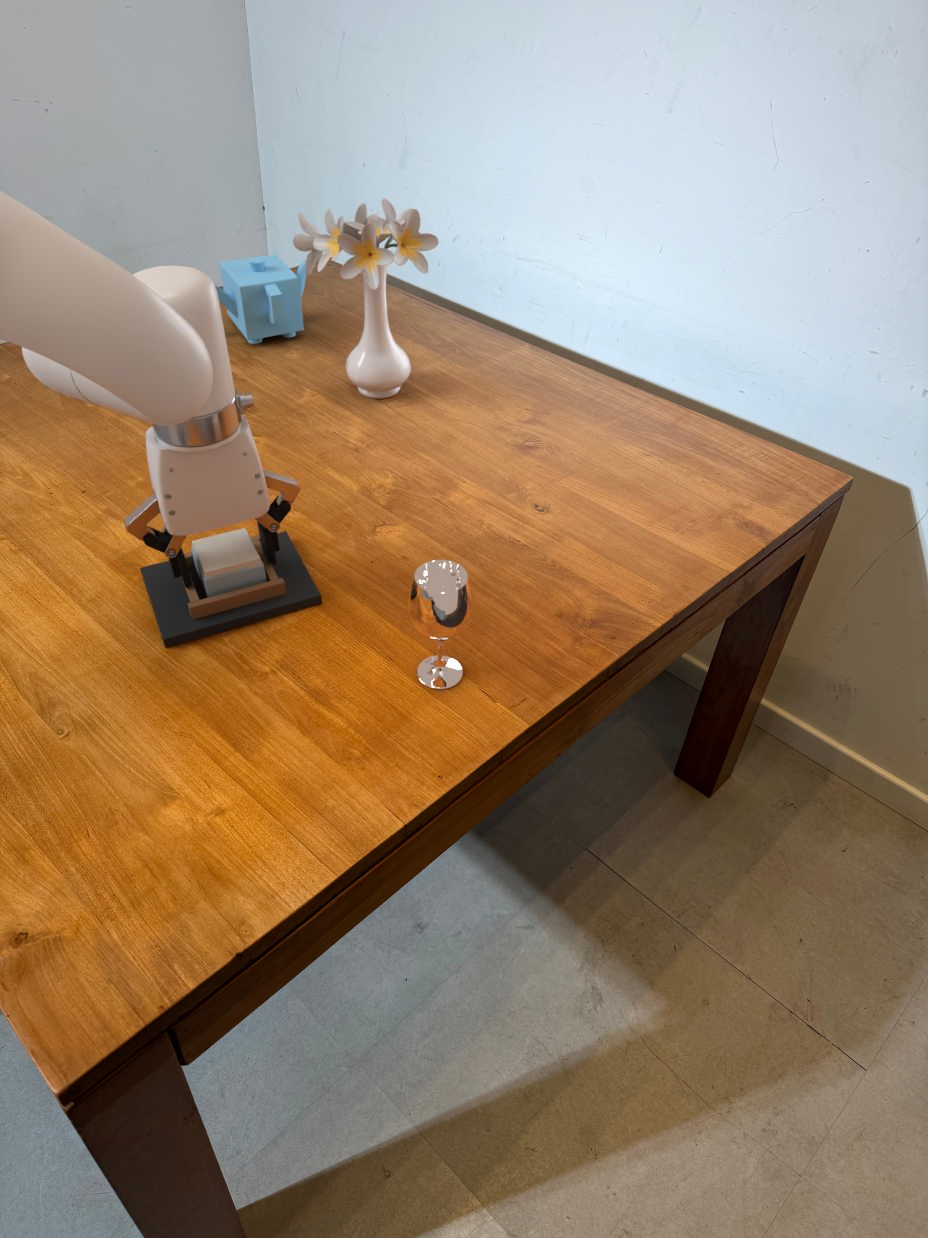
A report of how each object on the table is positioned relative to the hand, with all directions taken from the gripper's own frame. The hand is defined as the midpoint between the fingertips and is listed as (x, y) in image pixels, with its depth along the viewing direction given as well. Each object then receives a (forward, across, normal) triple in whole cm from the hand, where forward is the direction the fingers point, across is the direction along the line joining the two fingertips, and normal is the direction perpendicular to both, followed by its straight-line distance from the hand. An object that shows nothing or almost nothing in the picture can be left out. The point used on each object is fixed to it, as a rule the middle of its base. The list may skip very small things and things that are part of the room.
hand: (228, 567), depth 86 cm
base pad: (+3, 0, 0) cm, 3 cm away
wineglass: (+3, -15, +20) cm, 25 cm away
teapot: (+3, -22, -60) cm, 64 cm away
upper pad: (+2, 0, 0) cm, 2 cm away
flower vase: (+3, -30, -35) cm, 46 cm away
